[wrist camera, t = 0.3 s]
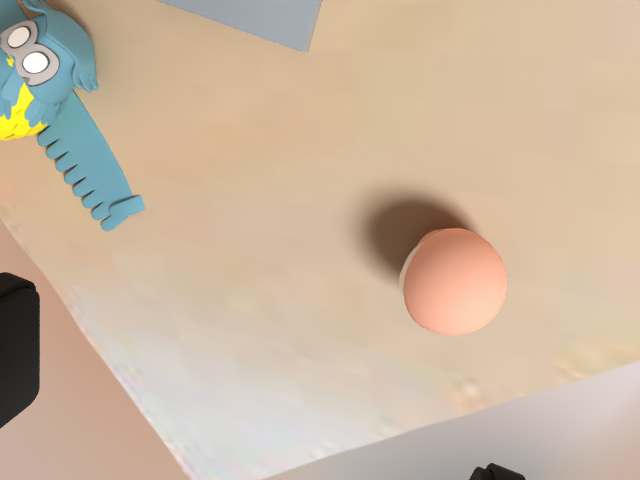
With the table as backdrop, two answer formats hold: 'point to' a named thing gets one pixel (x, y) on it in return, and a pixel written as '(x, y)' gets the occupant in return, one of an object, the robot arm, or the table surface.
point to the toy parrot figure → (59, 104)
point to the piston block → (261, 17)
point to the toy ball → (453, 282)
